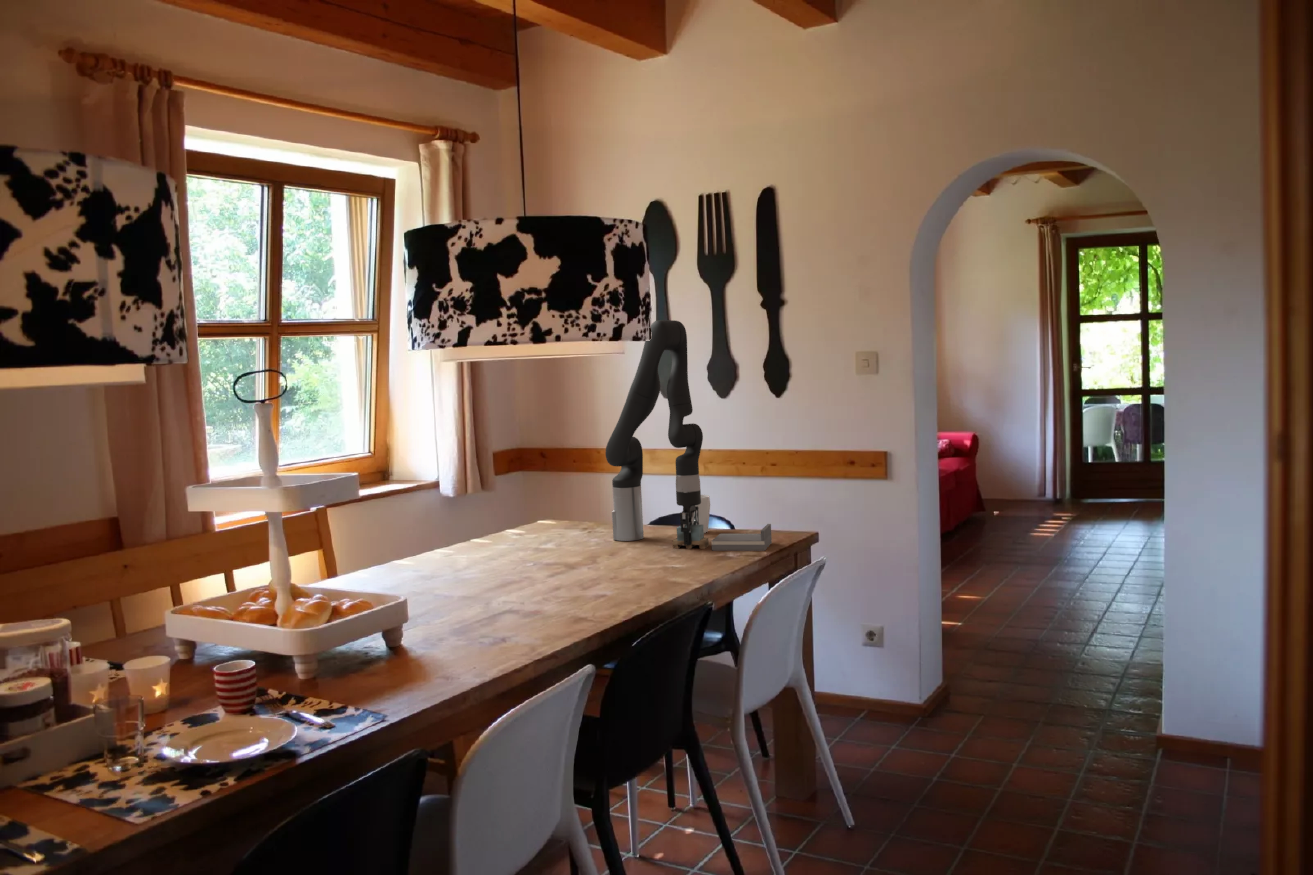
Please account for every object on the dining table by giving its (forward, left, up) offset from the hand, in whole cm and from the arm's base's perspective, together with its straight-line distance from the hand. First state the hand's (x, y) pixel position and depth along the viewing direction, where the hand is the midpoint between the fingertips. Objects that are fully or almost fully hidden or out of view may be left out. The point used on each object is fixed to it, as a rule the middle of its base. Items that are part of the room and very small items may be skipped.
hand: (690, 542), depth 324 cm
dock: (+16, 0, -1) cm, 16 cm away
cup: (-4, +26, -1) cm, 26 cm away
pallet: (0, 0, -1) cm, 1 cm away
